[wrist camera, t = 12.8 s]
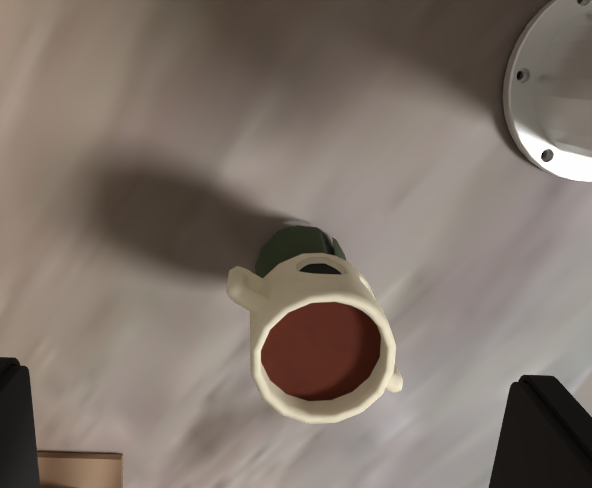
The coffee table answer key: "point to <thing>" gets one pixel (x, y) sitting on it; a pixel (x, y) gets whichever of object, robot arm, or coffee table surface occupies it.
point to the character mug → (314, 330)
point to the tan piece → (80, 470)
